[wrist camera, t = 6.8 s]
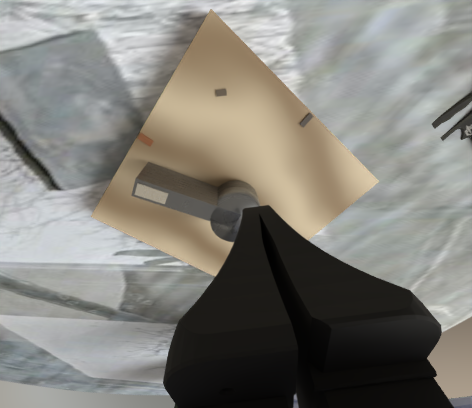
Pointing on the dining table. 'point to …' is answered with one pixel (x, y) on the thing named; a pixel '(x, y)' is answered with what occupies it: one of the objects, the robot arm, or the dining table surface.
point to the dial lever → (197, 197)
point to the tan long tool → (468, 125)
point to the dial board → (232, 151)
